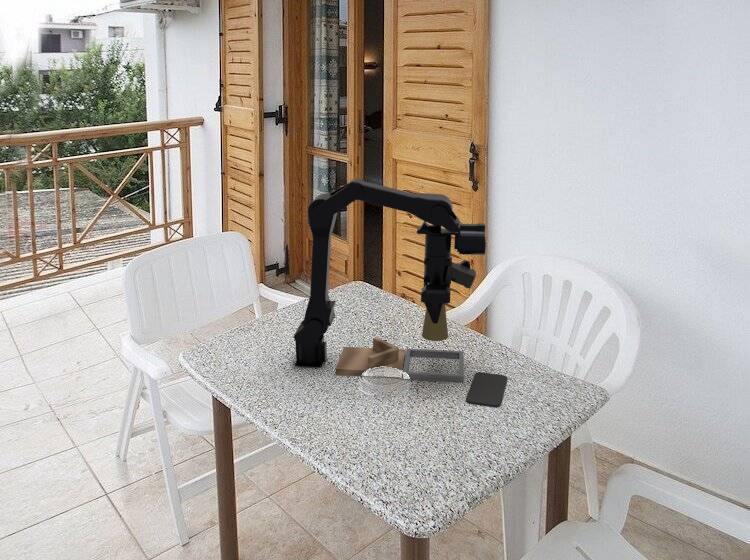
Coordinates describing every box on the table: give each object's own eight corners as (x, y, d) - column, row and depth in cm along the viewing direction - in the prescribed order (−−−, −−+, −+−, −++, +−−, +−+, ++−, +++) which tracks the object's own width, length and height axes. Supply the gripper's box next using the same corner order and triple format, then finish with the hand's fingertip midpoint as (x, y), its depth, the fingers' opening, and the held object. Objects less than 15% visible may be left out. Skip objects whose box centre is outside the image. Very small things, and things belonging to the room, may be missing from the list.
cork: (446, 342, 161) (448, 295, 157) (420, 339, 162) (421, 293, 158) (449, 331, 166) (451, 286, 163) (423, 329, 167) (424, 285, 164)
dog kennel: (335, 374, 163) (335, 356, 161) (343, 352, 175) (343, 335, 173) (401, 378, 161) (402, 359, 160) (405, 355, 173) (405, 338, 172)
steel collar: (402, 379, 161) (402, 373, 160) (406, 354, 174) (406, 348, 173) (463, 382, 159) (464, 376, 159) (463, 356, 172) (463, 351, 172)
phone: (508, 375, 162) (500, 405, 148) (508, 378, 162) (500, 409, 149) (475, 371, 164) (464, 400, 150) (475, 374, 164) (464, 404, 151)
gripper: (475, 267, 148) (472, 337, 153) (473, 243, 166) (470, 306, 171) (421, 265, 149) (419, 334, 154) (425, 241, 167) (423, 304, 172)
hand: (435, 319), depth 163 cm, fingers closed on cork, 4 cm apart
